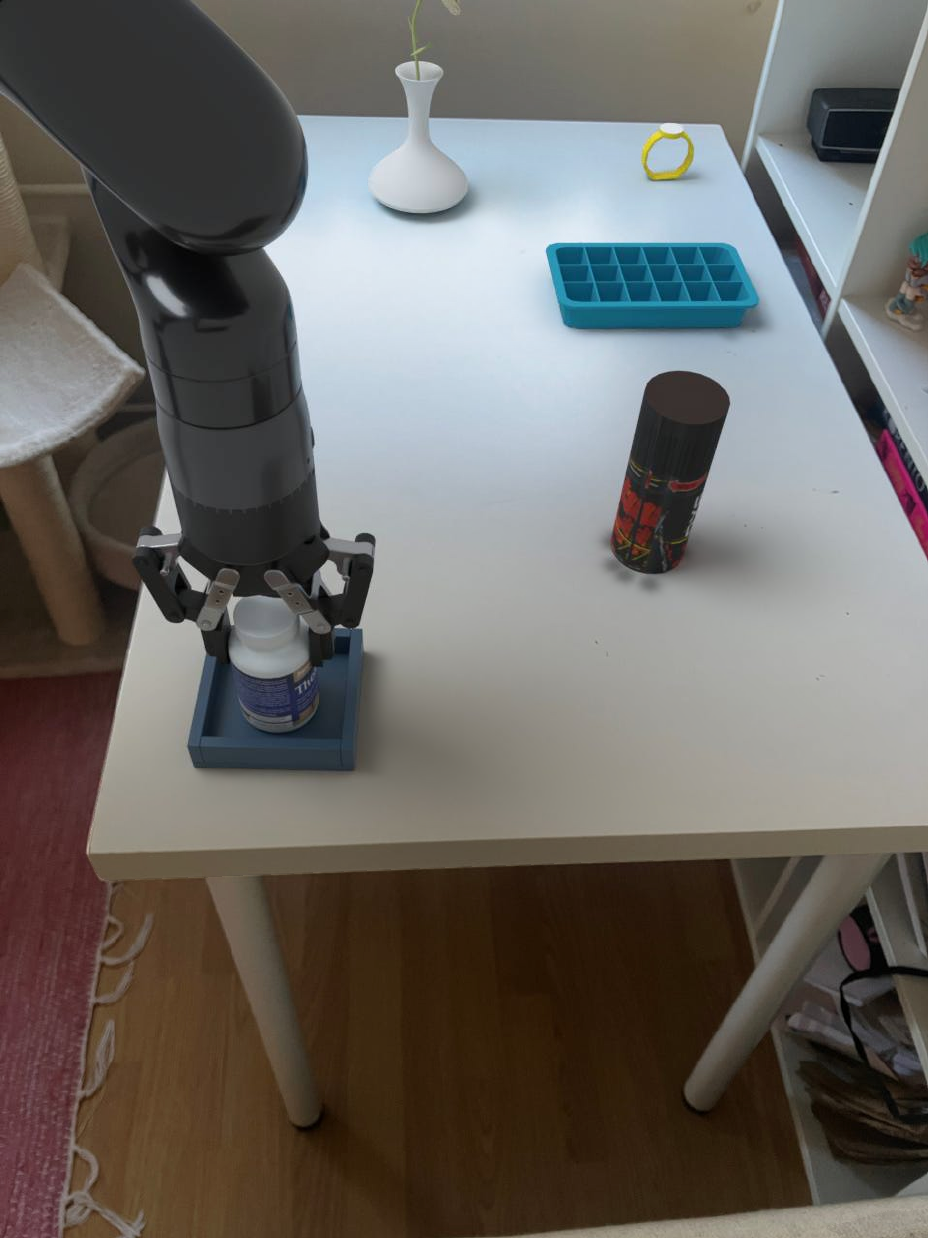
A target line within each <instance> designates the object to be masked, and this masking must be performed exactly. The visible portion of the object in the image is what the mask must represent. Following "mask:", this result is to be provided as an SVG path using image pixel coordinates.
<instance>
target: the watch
mask: <svg viewBox="0 0 928 1238" xmlns="http://www.w3.org/2000/svg"><path fill="white" fill-rule="evenodd" d="M684 129H685V128H684V127H683V126H682V125H681V124H678V123H674V122H666V123H662V124H661V125H660V126H659V129H658V131H656V132H654V133H653V134H652V135H650V136H649V138H648V139H647V141H646V142H645V144H644V145H643V148H642V151H641V157H640V161H641V164H642V167H643V170H644V172H645V174H646V175H647V176H648V177H649V178H651V179H652V180H653V181H654V182H655V181H662V180H663V181H664V180H678V179H679V178H680V177H682V176H683V175H684V174H685V173H686V172H687V171H688V170H689V169H690V166H691V165H692V163H693V160H694V155H695V147H694V144H693V142H692V140H691V138H690V136H689V134H688V133H687V132H686V131H685V130H684ZM680 138H682V139H684V140H685V141H686V142H687V154H686V156H685V158H684V160H683V162H682V164H680V165H679V166H678V167H677V168H675V170H672V171H661V172H654V171H652V170H651V169H649V166H648V158H649V153H650V151H651V150H652V148H653V147H654V145H656V143H657V142H660V141H661V140H662V139H667V140H677V139H680Z"/></svg>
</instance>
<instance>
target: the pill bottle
mask: <svg viewBox="0 0 928 1238" xmlns="http://www.w3.org/2000/svg"><path fill="white" fill-rule="evenodd" d="M232 619H233V625H234V626H233V628H232V630H231V632H230V635H229V639H228V650H229V656H230V661H231V665H232V669H233V674H234V678H235V683H236V688H237V692H238V697H239V702H240V706H241V709H242V712H243V715H244V716H245V718H246V719H247V721H248V722H249V723H250V724H251V725H253V726H254V727H256V728H258V729H260V730H263V731H266V732H272V733H283V732H289V731H293V730H295V729H298V728H300V727H301V726H303V725H304V724H305V723H307V722H308V721H309V720H310V719H311V718H312V716H313V715H314V714H315V712H316V710H317V707H318V704H319V688H318V678H317V669H316V667H312V661H311V653H310V645H309V636H308V631H309V625H308V624H307V623H306V621H305V620H304V619H303V617H302V616H301V615H298V616H296V615H295V614H294V613H293V612H292V611H291V609H290V608H289V607H288V605H287V604H286V603H285V601H284V600H283V599H282V598H271V597H266V596H261V595H257V596H251V597H240V599H239V600H238V601H237V602H236V604H235V606H234V608H233V613H232Z"/></svg>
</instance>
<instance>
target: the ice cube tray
mask: <svg viewBox="0 0 928 1238" xmlns="http://www.w3.org/2000/svg"><path fill="white" fill-rule="evenodd" d="M545 254H546V258H547V262H548V267H549V272H550V275H551V279H552V284H553V287H554V292H555V297H556V301H557V303H558V307H559V310H560V314H561V319H562V323H563V325H565V326H567V327H569V328H574V329H652V328H653V329H656V328H657V329H666V328H670V329H671V328H673V329H674V328H678V329H679V328H681V329H682V328H684V329H685V328H686V329H687V328H734V327H738V326H740V325H741V324H742V322H743V319H744V317H745V315H746V313H747V310H748V309H753V308H755V307H757V306H758V303H759V302H760V297H759V295H758V292H757V291H756V288H755V286H754V284H753V282H752V280H751V277H750V276H749V272H748V271H747V269H746V266H745V264H744V263H743V260H742V258H741V256H740V254H739V252H738V249H737V248H736V247H735V246H733V245H731V244H729V243H727V242H555V243H551V244H549V245H548V246H547V247H546V248H545Z"/></svg>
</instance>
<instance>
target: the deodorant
mask: <svg viewBox="0 0 928 1238" xmlns="http://www.w3.org/2000/svg"><path fill="white" fill-rule="evenodd" d="M641 400H642V401H641V404H640V408H639V413H638V417H637V422H636V426H635V430H634V436H633V439H632V444H631V447H630V453H629V457H628V462H627V465H626V470H625V474H624V479H623V482H622V483H623V484H622V487H621V492H620V498H619V501H618V506H617V509H616V514H615V519H614V523H613V527H612V531H611V532H612V533H611V538H610V548H611V551H612V554H613V555H614V557H615V558H616V559H617V560H618V561H619V562H620V563H621V564H623V566H625V567H627V568H628V569H630V570H633V571H634V572H640V573H642V574H652V575H654V574H655V575H656V574H662V573H663V574H664V573H666V572H669V571H671V570H673V569H675V568H676V567H677V566H678V565H679V564H680V563H681V561H682V560H683V558H684V553H685V552H686V548H687V545H688V542H689V539H690V535H691V532H692V528H693V525H694V522H695V519H696V515H697V513H698V510H699V506H700V503H701V500H702V498H703V497H702V496H703V493H704V490H705V487H706V484H707V481H708V477H709V473H710V472H711V471H710V470H711V468H712V465H713V461H714V458H715V455H716V452H717V448H718V445H719V442H720V439H721V435H722V433H723V430H724V429H723V428H724V426H725V422H726V419H727V417H728V413H729V410H730V406H731V399H730V396H729V394H728V392H727V390H726V389H725V388H724V387H723V386H722V385H721V384H720V383H719V382H717V381H715V379H713V378H711V377H709V376H707V375H704V374H701V373H698V372H693V371H690V370H689V371H688V370H670V371H665V372H661V373H658V374H657V375H655V376H653V377H651V378H650V379H649V380H648V381H647V382H646V385H645V388H644V390H643V395H642V399H641Z"/></svg>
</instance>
